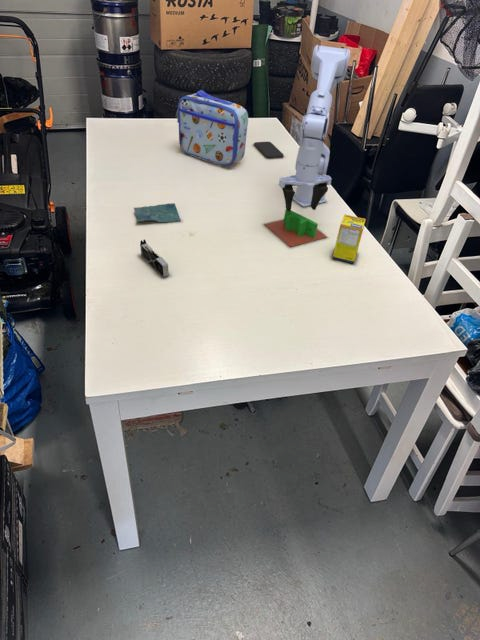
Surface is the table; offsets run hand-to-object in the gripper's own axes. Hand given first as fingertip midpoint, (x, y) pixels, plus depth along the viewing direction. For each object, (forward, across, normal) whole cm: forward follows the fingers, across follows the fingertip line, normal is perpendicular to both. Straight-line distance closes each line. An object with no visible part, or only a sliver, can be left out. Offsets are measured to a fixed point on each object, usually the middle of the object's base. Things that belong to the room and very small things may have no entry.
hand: (300, 209), depth 130 cm
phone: (+8, +11, +61) cm, 62 cm away
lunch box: (+8, -14, +56) cm, 58 cm away
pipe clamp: (+7, 0, 0) cm, 7 cm away
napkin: (+8, 0, +1) cm, 8 cm away
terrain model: (+8, -39, +14) cm, 42 cm away
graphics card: (+8, -43, -10) cm, 45 cm away
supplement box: (+8, +9, -14) cm, 19 cm away
